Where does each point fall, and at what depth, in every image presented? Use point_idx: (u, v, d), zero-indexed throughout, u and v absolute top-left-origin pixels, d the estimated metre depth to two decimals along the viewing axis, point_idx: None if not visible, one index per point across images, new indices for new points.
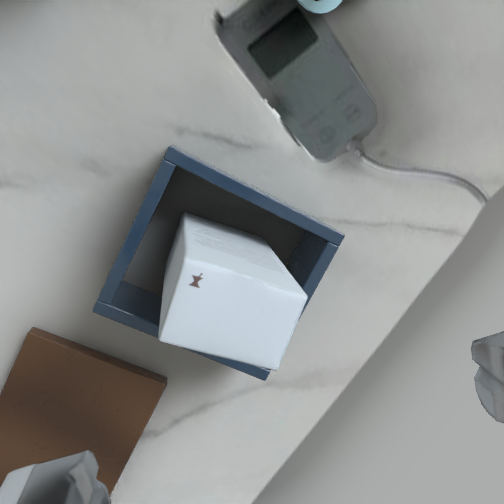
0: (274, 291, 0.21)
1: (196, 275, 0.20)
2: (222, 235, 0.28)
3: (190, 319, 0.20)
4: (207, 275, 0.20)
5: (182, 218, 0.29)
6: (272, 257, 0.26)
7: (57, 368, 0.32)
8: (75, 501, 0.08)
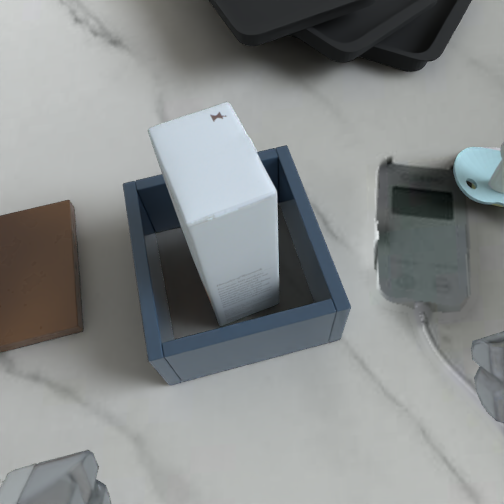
0: (257, 166, 0.20)
1: (221, 113, 0.21)
2: None
3: (183, 132, 0.21)
4: (227, 119, 0.21)
5: None
6: None
7: (46, 235, 0.32)
8: (75, 501, 0.08)
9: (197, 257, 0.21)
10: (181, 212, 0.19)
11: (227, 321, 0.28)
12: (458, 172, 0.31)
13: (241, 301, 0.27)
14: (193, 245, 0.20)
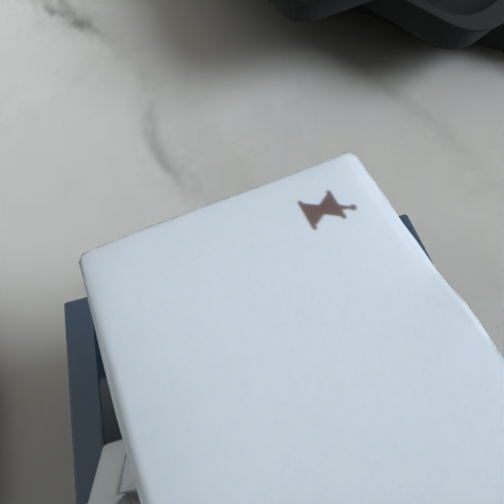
0: None
1: (338, 197, 0.06)
2: None
3: (205, 276, 0.06)
4: (364, 222, 0.06)
5: None
6: None
7: None
8: None
9: None
10: None
11: None
12: None
13: None
14: None
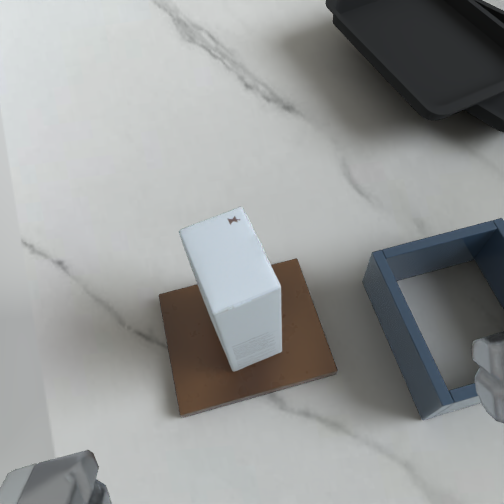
0: (265, 264, 0.26)
1: (236, 217, 0.27)
2: None
3: (206, 234, 0.27)
4: (241, 223, 0.27)
5: None
6: None
7: (286, 290, 0.38)
8: (75, 501, 0.08)
9: (218, 331, 0.27)
10: (208, 303, 0.25)
11: (239, 368, 0.34)
12: None
13: (251, 354, 0.33)
14: (216, 325, 0.26)
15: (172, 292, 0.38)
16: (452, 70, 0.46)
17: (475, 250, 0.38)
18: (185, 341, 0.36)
